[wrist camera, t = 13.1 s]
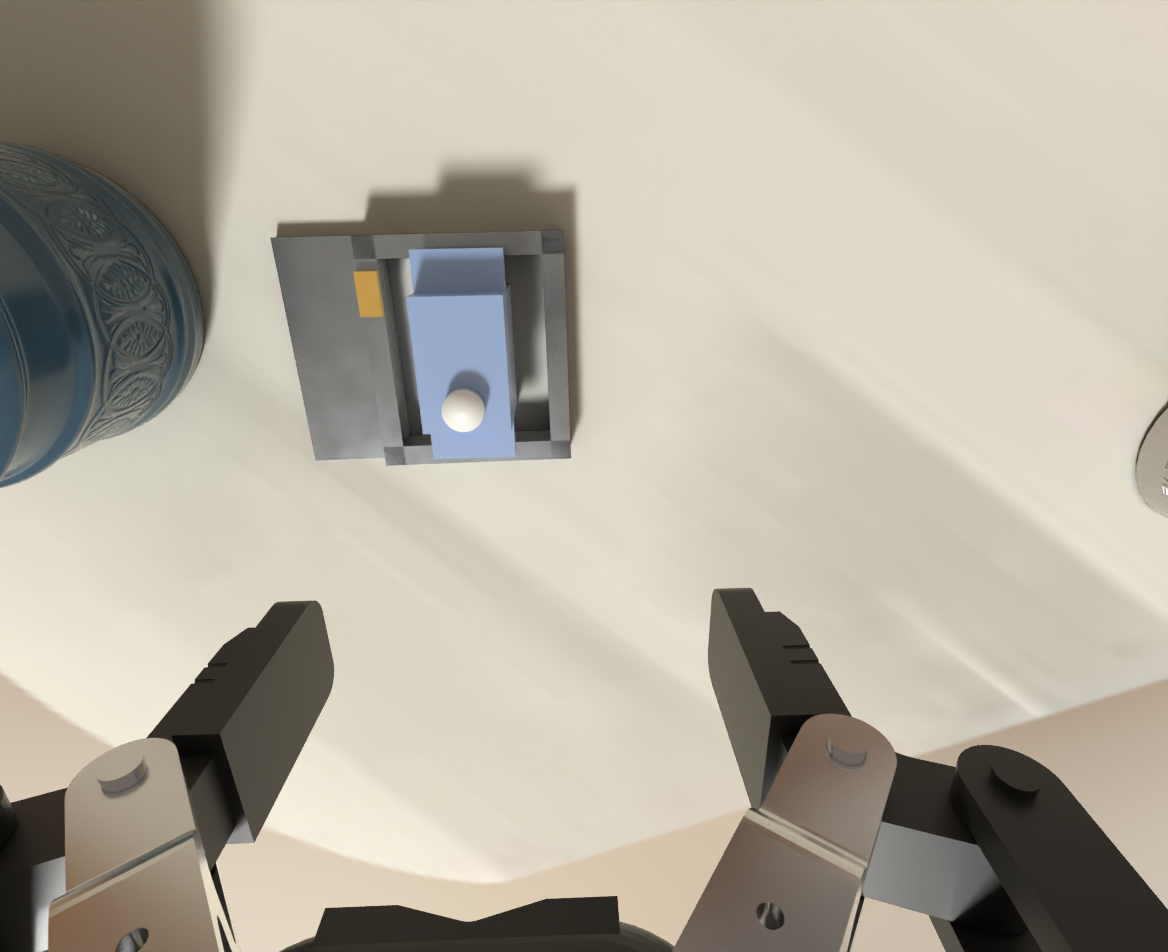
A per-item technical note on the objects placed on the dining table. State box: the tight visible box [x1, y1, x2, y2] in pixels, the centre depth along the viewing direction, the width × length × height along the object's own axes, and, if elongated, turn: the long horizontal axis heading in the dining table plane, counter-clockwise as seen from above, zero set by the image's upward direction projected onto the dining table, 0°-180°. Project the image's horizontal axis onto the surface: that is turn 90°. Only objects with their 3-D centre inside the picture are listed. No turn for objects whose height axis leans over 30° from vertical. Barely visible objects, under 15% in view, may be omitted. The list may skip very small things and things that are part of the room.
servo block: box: [406, 247, 517, 459], centre depth 28 cm, size 4×10×6 cm, turn 1°
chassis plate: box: [271, 230, 571, 465], centre depth 30 cm, size 14×11×2 cm
